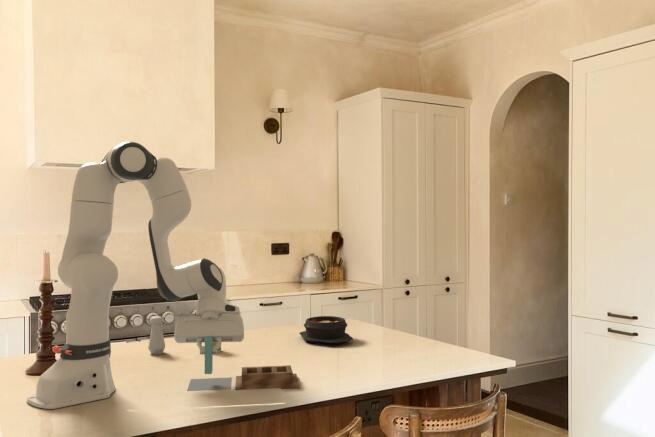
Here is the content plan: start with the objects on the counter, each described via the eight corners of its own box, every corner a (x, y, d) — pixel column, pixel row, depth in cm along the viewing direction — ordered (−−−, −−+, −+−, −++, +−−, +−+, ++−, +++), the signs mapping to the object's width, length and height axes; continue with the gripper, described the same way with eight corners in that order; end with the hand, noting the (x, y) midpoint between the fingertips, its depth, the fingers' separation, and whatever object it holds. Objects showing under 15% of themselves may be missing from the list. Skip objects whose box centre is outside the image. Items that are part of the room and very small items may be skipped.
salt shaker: (144, 354, 215) (144, 317, 215) (156, 350, 220) (156, 314, 220) (157, 356, 212) (156, 318, 212) (168, 352, 217) (168, 316, 217)
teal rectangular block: (204, 374, 173) (204, 338, 173) (205, 370, 177) (205, 336, 177) (211, 373, 174) (211, 338, 174) (212, 370, 178) (212, 336, 177)
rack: (235, 391, 170) (235, 376, 170) (236, 379, 182) (235, 366, 182) (299, 388, 172) (299, 374, 172) (296, 376, 184) (296, 363, 184)
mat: (186, 392, 169) (186, 390, 169) (190, 380, 181) (190, 379, 181) (230, 390, 171) (230, 388, 171) (231, 378, 182) (231, 377, 182)
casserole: (288, 338, 240) (287, 317, 240) (326, 332, 251) (326, 312, 251) (324, 350, 219) (324, 326, 219) (364, 343, 230) (364, 321, 230)
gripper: (174, 307, 181) (170, 347, 171) (244, 307, 184) (244, 346, 174) (176, 320, 185) (172, 360, 176) (244, 319, 188) (243, 358, 178)
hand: (208, 353), depth 175 cm, fingers closed on teal rectangular block, 2 cm apart
